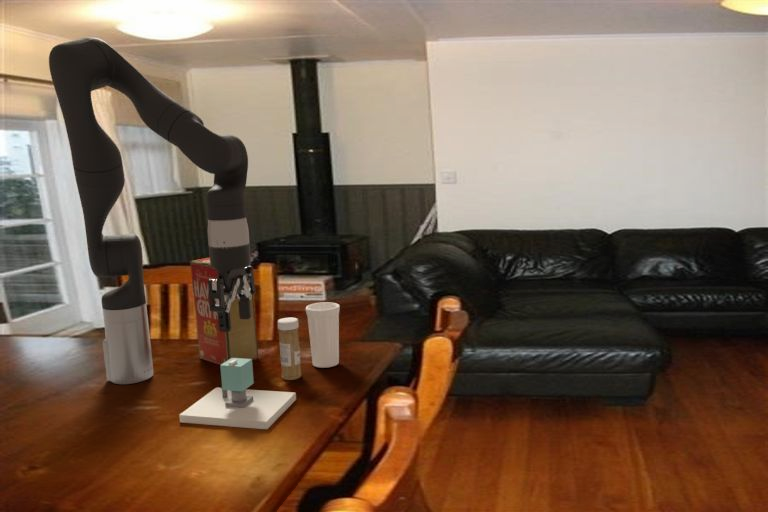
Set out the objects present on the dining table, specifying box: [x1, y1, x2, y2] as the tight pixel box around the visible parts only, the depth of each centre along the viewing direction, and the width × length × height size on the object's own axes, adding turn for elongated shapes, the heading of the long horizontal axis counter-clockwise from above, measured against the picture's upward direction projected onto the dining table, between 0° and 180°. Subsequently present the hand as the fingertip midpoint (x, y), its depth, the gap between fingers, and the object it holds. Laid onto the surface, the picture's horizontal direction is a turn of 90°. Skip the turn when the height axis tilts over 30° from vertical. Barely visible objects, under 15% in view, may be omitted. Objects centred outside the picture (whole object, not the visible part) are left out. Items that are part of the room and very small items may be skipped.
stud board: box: [178, 386, 297, 430], centre depth 122 cm, size 18×14×5 cm
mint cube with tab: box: [220, 358, 255, 392], centre depth 121 cm, size 4×4×6 cm
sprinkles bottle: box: [277, 317, 302, 381], centre depth 139 cm, size 5×5×13 cm
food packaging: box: [189, 256, 259, 365], centre depth 153 cm, size 13×9×25 cm
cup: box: [305, 301, 341, 369], centre depth 146 cm, size 8×8×14 cm
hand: (235, 324), depth 120 cm, fingers open, 8 cm apart
